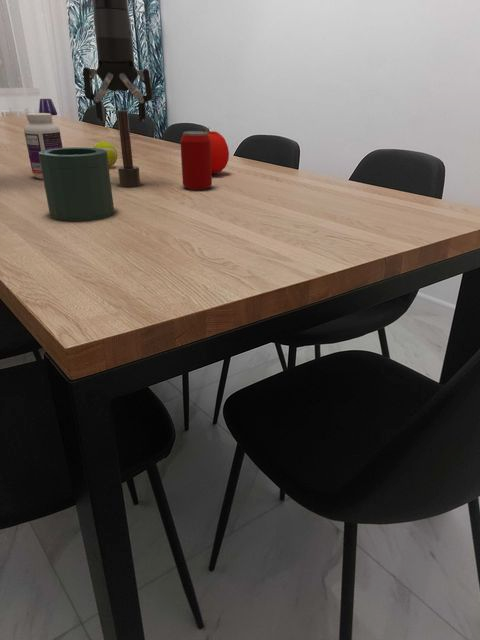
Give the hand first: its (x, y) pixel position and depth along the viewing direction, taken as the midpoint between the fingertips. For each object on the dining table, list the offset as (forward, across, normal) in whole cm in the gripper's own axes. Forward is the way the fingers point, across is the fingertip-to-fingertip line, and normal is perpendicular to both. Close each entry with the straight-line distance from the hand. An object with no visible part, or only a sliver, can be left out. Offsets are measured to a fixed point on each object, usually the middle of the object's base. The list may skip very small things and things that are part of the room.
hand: (122, 121), depth 112 cm
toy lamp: (+14, +25, -31) cm, 42 cm away
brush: (+14, 0, 0) cm, 14 cm away
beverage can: (+14, -16, +3) cm, 22 cm away
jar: (+14, +5, +27) cm, 31 cm away
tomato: (+14, -18, -15) cm, 27 cm away
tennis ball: (+14, +10, -25) cm, 30 cm away
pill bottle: (+14, +21, -10) cm, 27 cm away
